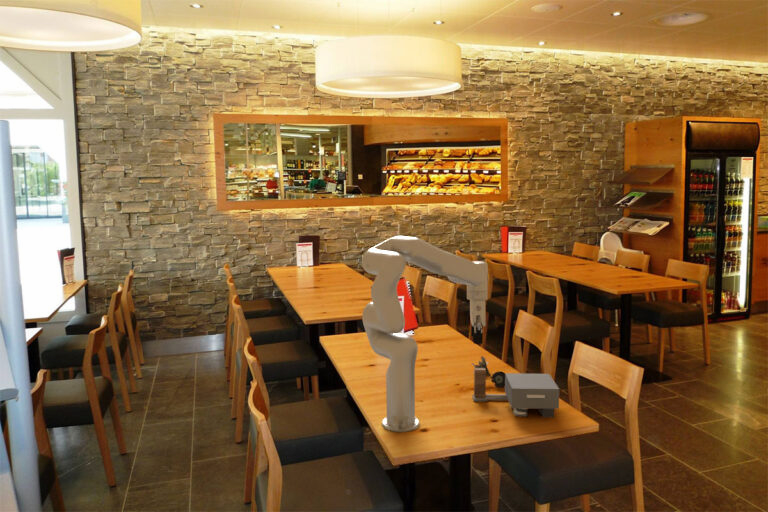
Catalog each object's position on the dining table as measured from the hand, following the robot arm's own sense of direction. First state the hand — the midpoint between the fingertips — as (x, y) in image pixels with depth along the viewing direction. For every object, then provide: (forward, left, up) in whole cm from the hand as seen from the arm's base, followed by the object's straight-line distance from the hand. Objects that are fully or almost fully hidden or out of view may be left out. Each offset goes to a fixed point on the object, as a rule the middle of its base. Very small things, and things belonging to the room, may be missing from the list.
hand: (476, 339), depth 221 cm
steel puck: (-14, -14, -23) cm, 31 cm away
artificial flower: (+23, -7, -23) cm, 33 cm away
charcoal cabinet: (-11, -18, -23) cm, 31 cm away
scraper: (-1, -9, -23) cm, 25 cm away
